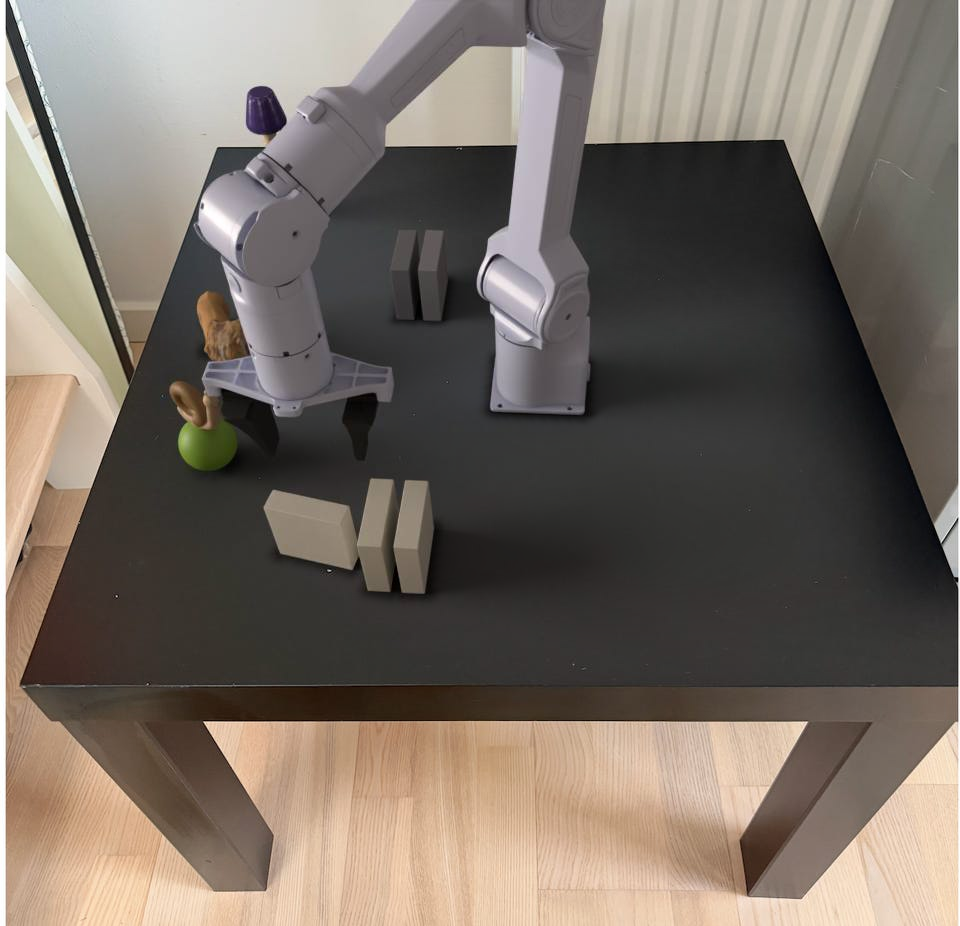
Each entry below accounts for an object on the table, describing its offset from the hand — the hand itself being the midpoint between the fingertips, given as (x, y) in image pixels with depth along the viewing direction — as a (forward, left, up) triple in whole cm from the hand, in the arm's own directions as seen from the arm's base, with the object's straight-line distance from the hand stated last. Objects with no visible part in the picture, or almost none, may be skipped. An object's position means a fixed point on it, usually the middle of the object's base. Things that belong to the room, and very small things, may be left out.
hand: (317, 450), depth 77 cm
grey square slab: (-3, -31, -10) cm, 32 cm away
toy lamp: (+15, -46, -10) cm, 49 cm away
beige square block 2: (-8, +4, -10) cm, 13 cm away
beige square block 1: (-5, +4, -10) cm, 12 cm away
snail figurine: (+13, -6, -10) cm, 17 cm away
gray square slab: (-6, -31, -10) cm, 33 cm away
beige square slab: (+1, +4, -10) cm, 10 cm away
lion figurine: (+15, -20, -10) cm, 26 cm away
